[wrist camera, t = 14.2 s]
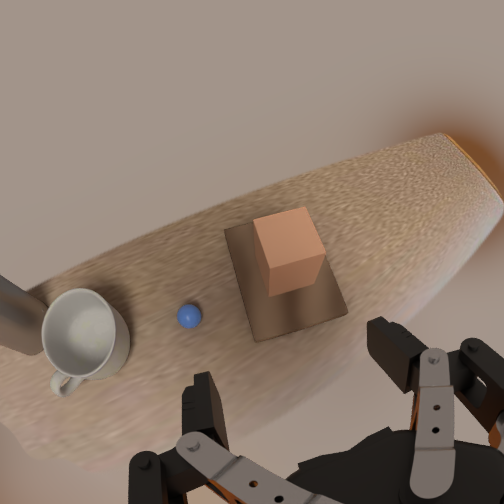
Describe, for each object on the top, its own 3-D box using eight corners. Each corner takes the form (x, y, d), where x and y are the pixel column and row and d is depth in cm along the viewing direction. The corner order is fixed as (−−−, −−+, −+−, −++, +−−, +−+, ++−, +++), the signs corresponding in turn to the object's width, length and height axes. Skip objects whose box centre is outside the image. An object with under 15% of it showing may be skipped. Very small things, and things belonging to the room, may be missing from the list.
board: (255, 343, 35) (255, 341, 34) (225, 234, 42) (224, 229, 41) (346, 314, 36) (348, 312, 35) (304, 214, 44) (305, 209, 42)
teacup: (102, 294, 39) (73, 271, 32) (155, 337, 36) (130, 321, 29) (53, 366, 33) (18, 355, 26) (101, 417, 30) (67, 417, 23)
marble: (183, 333, 36) (176, 327, 33) (178, 311, 37) (172, 304, 35) (205, 327, 36) (200, 321, 34) (200, 305, 38) (195, 298, 35)
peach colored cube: (268, 297, 37) (269, 268, 29) (255, 255, 39) (252, 219, 32) (313, 283, 37) (326, 252, 30) (298, 244, 40) (305, 206, 32)
